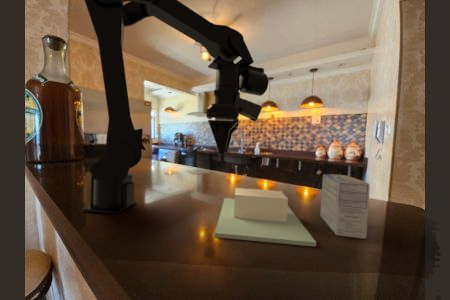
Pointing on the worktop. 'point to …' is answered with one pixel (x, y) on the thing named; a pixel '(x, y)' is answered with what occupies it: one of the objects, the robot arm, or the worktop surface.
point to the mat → (262, 228)
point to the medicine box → (345, 205)
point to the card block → (260, 205)
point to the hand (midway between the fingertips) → (223, 153)
